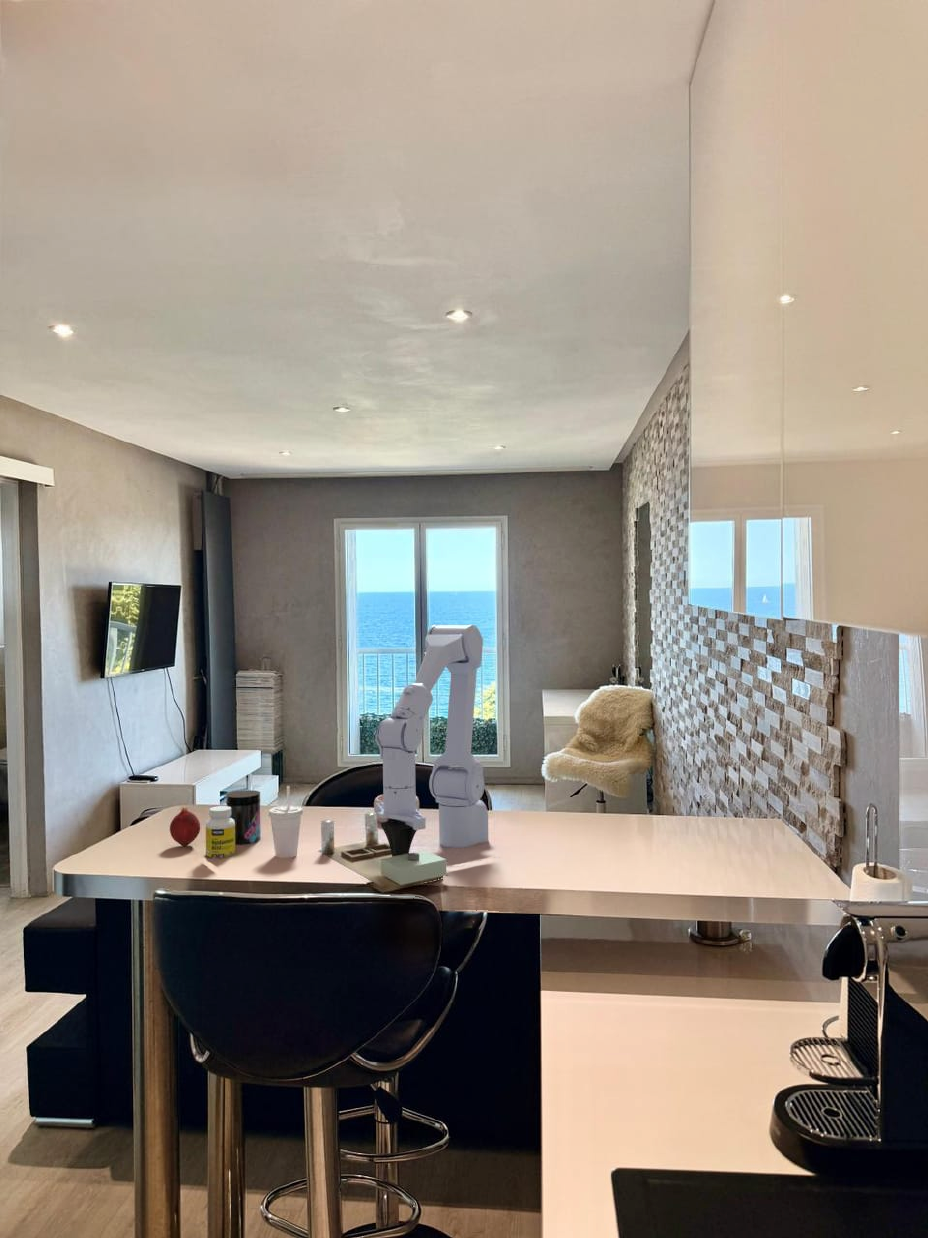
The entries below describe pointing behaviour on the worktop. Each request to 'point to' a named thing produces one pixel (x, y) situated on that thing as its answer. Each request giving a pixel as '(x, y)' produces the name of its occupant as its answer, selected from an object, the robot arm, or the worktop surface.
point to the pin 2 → (371, 829)
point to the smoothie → (286, 828)
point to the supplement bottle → (220, 833)
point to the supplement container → (245, 815)
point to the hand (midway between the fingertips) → (400, 862)
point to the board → (370, 864)
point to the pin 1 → (327, 836)
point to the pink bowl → (380, 799)
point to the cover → (413, 867)
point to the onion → (185, 827)
